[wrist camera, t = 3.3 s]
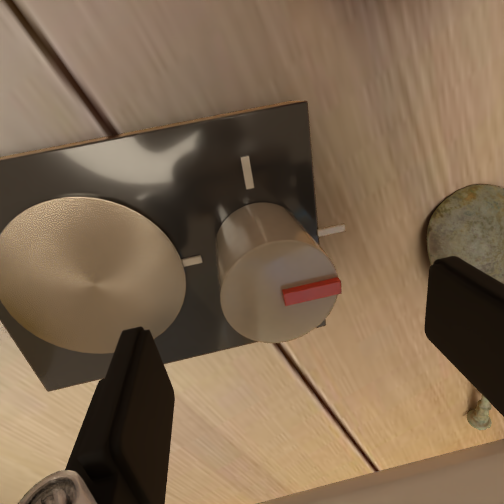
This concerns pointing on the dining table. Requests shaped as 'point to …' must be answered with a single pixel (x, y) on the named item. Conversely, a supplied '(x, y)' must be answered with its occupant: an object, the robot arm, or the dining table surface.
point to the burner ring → (89, 272)
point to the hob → (171, 210)
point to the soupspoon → (471, 245)
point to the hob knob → (272, 274)
